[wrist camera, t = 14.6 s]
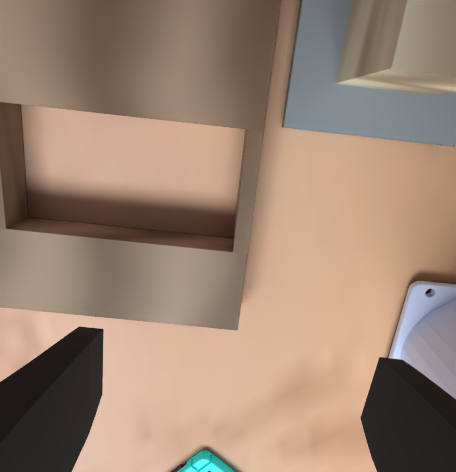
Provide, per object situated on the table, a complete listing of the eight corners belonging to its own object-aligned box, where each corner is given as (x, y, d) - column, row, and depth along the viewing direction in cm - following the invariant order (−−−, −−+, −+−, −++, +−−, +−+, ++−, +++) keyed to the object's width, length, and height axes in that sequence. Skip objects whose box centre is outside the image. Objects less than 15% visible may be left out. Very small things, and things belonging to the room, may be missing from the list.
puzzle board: (304, -213, 14) (316, -266, 12) (237, 310, 21) (237, 330, 19) (-25, -258, 13) (-67, -319, 11) (20, 288, 20) (-2, 307, 18)
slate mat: (505, -54, 15) (515, -61, 15) (447, 145, 18) (454, 146, 17) (312, -78, 15) (315, -86, 14) (282, 127, 17) (283, 127, 17)
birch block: (452, -9, 15) (585, -82, 9) (424, 94, 16) (526, 85, 11) (356, -23, 15) (432, -105, 9) (335, 83, 16) (391, 68, 11)
